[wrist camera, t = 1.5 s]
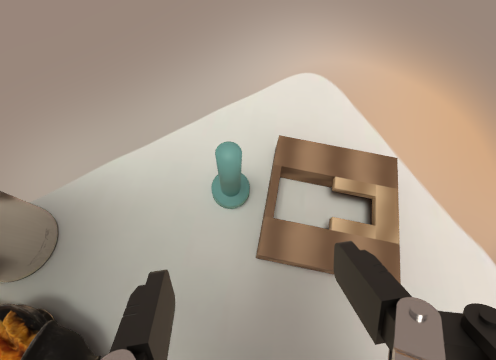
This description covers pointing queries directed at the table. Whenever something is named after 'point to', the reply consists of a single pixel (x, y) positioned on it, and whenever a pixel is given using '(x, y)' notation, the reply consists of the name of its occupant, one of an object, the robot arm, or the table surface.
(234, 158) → the peg
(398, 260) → the keyhole plate
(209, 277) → the table surface
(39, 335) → the black fries container
